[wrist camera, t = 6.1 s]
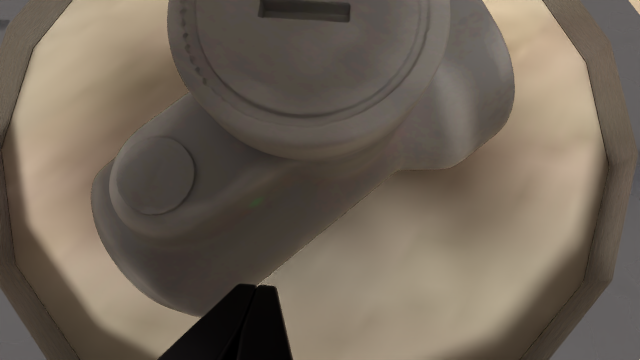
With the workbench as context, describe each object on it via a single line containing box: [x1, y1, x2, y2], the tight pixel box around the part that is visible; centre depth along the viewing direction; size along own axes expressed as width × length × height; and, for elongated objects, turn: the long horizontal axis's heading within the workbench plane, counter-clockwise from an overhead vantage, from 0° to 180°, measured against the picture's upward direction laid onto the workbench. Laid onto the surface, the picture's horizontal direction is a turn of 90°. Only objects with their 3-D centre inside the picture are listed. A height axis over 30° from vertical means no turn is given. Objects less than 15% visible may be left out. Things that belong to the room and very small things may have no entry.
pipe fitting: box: [91, 0, 515, 317], centre depth 11 cm, size 12×8×10 cm
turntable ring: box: [0, 0, 640, 360], centre depth 16 cm, size 30×30×2 cm
